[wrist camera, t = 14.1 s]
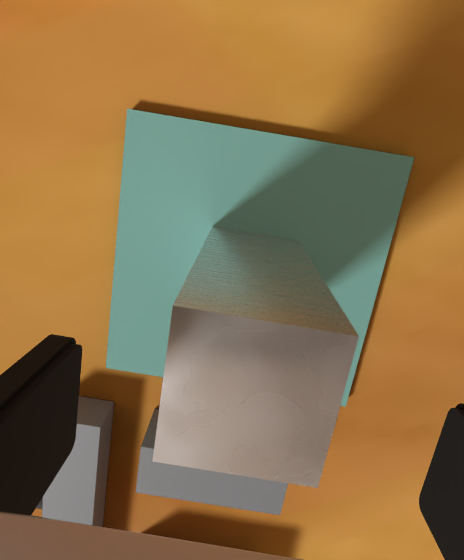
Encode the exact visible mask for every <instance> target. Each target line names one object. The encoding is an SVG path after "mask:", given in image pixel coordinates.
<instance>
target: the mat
mask: <svg viewBox="0 0 464 560" xmlns="http://www.w3.org/2000/svg"><path fill="white" fill-rule="evenodd" d="M413 161H414V157H410V156H404V155H398V154H392V153H386V152H380V151H375V150H369V149H363V148H357V147H351V146H345V145H339V144H333V143H327V142H321V141H315V140H310V139H304V138H298V137H292V136H286V135H280V134H274V133H268V132H262V131H256V130H250V129H245V128H239V127H233V126H227V125H221V124H215V123H209V122H203V121H197V120H191V119H186V118H180V117H174V116H168V115H162V114H156V113H150V112H144V111H138V110H132V109H127V119H126V131H125V143H124V155H123V167H122V179H121V191H120V203H119V215H118V227H117V240H116V252H115V264H114V276H113V288H112V300H111V312H110V324H109V336H108V348H107V360H106V368H110V369H116V370H122V371H128V372H134V373H141V374H147V375H153V376H159V377H163V376H164V369H165V361H166V353H167V346H168V338H169V330H170V323H171V315H172V307H173V304H174V302H175V300H176V298H177V296H178V294H179V292H180V290H181V288H182V286H183V284H184V282H185V280H186V278H187V276H188V274H189V272H190V270H191V268H192V266H193V264H194V262H195V260H196V258H197V256H198V254H199V252H200V250H201V248H202V246H203V244H204V242H205V240H206V238H207V236H208V234H209V232H210V230H211V228H212V226H217V227H222V228H228V229H234V230H240V231H246V232H252V233H258V234H264V235H270V236H276V237H282V238H288V239H294V240H299V242H300V243H301V245H302V246H303V248H304V249H305V251H306V253H307V254H308V256H309V257H310V259H311V261H312V262H313V264H314V265H315V267H316V269H317V270H318V272H319V273H320V275H321V276H322V278H323V280H324V281H325V283H326V284H327V286H328V288H329V289H330V291H331V292H332V294H333V296H334V297H335V299H336V300H337V302H338V304H339V305H340V307H341V308H342V310H343V311H344V313H345V315H346V316H347V318H348V319H349V321H350V323H351V324H352V326H353V327H354V329H355V331H356V332H357V334H358V335H359V339H358V343H357V346H356V350H355V353H354V357H353V361H352V364H351V368H350V372H349V375H348V379H347V383H346V386H345V390H344V394H343V397H342V401H341V405H340V406H346V404H347V400H348V397H349V393H350V389H351V386H352V382H353V378H354V375H355V371H356V368H357V364H358V360H359V357H360V353H361V349H362V346H363V342H364V339H365V335H366V331H367V328H368V324H369V320H370V317H371V313H372V310H373V306H374V302H375V299H376V295H377V291H378V288H379V284H380V280H381V277H382V273H383V270H384V266H385V262H386V259H387V255H388V251H389V248H390V244H391V241H392V237H393V233H394V230H395V226H396V222H397V219H398V215H399V211H400V208H401V204H402V201H403V197H404V193H405V190H406V186H407V182H408V179H409V175H410V172H411V168H412V164H413Z"/></svg>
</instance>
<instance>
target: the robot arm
mask: <svg viewBox="0 0 464 560" xmlns="http://www.w3.org/2000/svg"><path fill="white" fill-rule="evenodd" d="M81 359H82V346H81V345H77V344H76V341H75V339H74V338H70V337H65V336H59V335H53V334H51V335H49V336H47V337H46V338H45V339H44V340H43V341H41V342H40V343H39V344H38V345H37V346H35V347H34V348H33V349H32V350H31V351H29V352H28V353H27V354H26V355H24V356H23V357H22V358H21V359H20V360H18V361H17V362H16V363H15V364H14V365H12V366H11V367H10V368H9V369H7V370H6V371H5V372H4V373H3V374H1V375H0V560H302V559H296V558H290V557H284V556H278V555H272V554H266V553H260V552H254V551H248V550H242V549H236V548H230V547H224V546H218V545H212V544H206V543H200V542H193V541H187V540H181V539H175V538H169V537H162V536H156V535H150V534H144V533H137V532H131V531H125V530H118V529H112V528H106V527H100V526H93V525H87V524H81V523H75V522H69V521H63V520H57V519H50V518H44V517H38V516H31V515H32V513H33V512H34V510H35V508H36V507H37V505H38V504H39V502H40V500H41V499H42V497H43V496H44V494H45V493H46V491H47V489H48V488H49V486H50V485H51V483H52V482H53V480H54V478H55V477H56V475H57V474H58V472H59V471H60V469H61V467H62V466H63V464H64V463H65V461H66V460H67V458H68V456H69V455H70V453H71V451H72V449H73V447H74V443H75V439H76V428H77V414H78V400H79V387H80V373H81ZM419 505H420V510H421V512H422V515H423V517H424V519H425V521H426V523H427V525H428V527H429V529H430V531H431V533H432V535H433V537H434V539H435V541H436V543H437V545H438V547H439V549H440V551H441V553H442V555H443V557H444V559H445V560H464V404H462V403H461V404H458V405H457V406H456V407H455V408H451V409H450V410H449V412H448V414H447V417H446V420H445V423H444V426H443V428H442V431H441V434H440V437H439V440H438V443H437V446H436V449H435V452H434V455H433V458H432V461H431V464H430V467H429V470H428V473H427V476H426V478H425V481H424V484H423V487H422V490H421V493H420V497H419Z"/></svg>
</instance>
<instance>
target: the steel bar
mask: <svg viewBox="0 0 464 560" xmlns="http://www.w3.org/2000/svg"><path fill="white" fill-rule="evenodd" d="M358 339H359V335H358V334H357V332H356V331H355V329H354V327H353V326H352V324H351V323H350V321H349V319H348V318H347V316H346V315H345V313H344V311H343V310H342V308H341V307H340V305H339V304H338V302H337V300H336V299H335V297H334V296H333V294H332V292H331V291H330V289H329V288H328V286H327V284H326V283H325V281H324V280H323V278H322V276H321V275H320V273H319V272H318V270H317V269H316V267H315V265H314V264H313V262H312V261H311V259H310V257H309V256H308V254H307V253H306V251H305V249H304V248H303V246H302V245H301V243H300V242H299V240H294V239H288V238H282V237H276V236H270V235H264V234H258V233H252V232H246V231H240V230H234V229H228V228H222V227H217V226H212V228H211V230H210V232H209V234H208V236H207V238H206V240H205V242H204V244H203V246H202V248H201V250H200V252H199V254H198V256H197V258H196V260H195V262H194V264H193V266H192V268H191V270H190V272H189V274H188V276H187V278H186V280H185V282H184V284H183V286H182V288H181V290H180V292H179V294H178V296H177V298H176V300H175V302H174V304H173V307H172V315H171V323H170V330H169V338H168V346H167V353H166V361H165V369H164V376H163V384H162V392H161V399H160V407H159V415H158V422H157V430H156V438H155V445H154V453H153V461H152V462H159V463H165V464H171V465H177V466H184V467H190V468H196V469H202V470H209V471H215V472H221V473H227V474H234V475H240V476H246V477H252V478H259V479H265V480H271V481H277V482H284V483H290V484H296V485H302V486H309V487H315V488H318V485H319V481H320V478H321V474H322V470H323V467H324V463H325V459H326V456H327V452H328V448H329V445H330V441H331V438H332V434H333V430H334V427H335V423H336V419H337V416H338V412H339V408H340V405H341V401H342V397H343V394H344V390H345V386H346V383H347V379H348V375H349V372H350V368H351V364H352V361H353V357H354V353H355V350H356V346H357V343H358Z"/></svg>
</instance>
